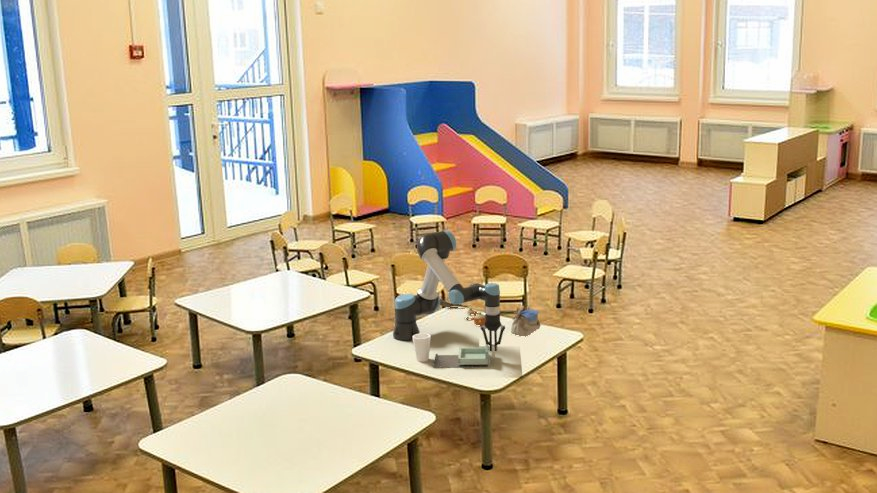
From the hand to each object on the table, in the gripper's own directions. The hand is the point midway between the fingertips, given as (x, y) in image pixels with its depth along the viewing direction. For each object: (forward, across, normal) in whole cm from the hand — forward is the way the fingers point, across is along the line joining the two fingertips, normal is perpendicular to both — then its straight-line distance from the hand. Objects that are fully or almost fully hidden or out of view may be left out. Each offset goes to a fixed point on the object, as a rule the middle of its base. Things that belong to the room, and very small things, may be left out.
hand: (493, 357), depth 450 cm
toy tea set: (+3, -9, +66) cm, 67 cm away
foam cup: (+3, -37, +3) cm, 38 cm away
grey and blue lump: (+3, +20, +50) cm, 54 cm away
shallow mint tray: (+2, -10, 0) cm, 11 cm away
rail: (+2, -16, 0) cm, 16 cm away
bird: (+3, -24, +88) cm, 92 cm away
